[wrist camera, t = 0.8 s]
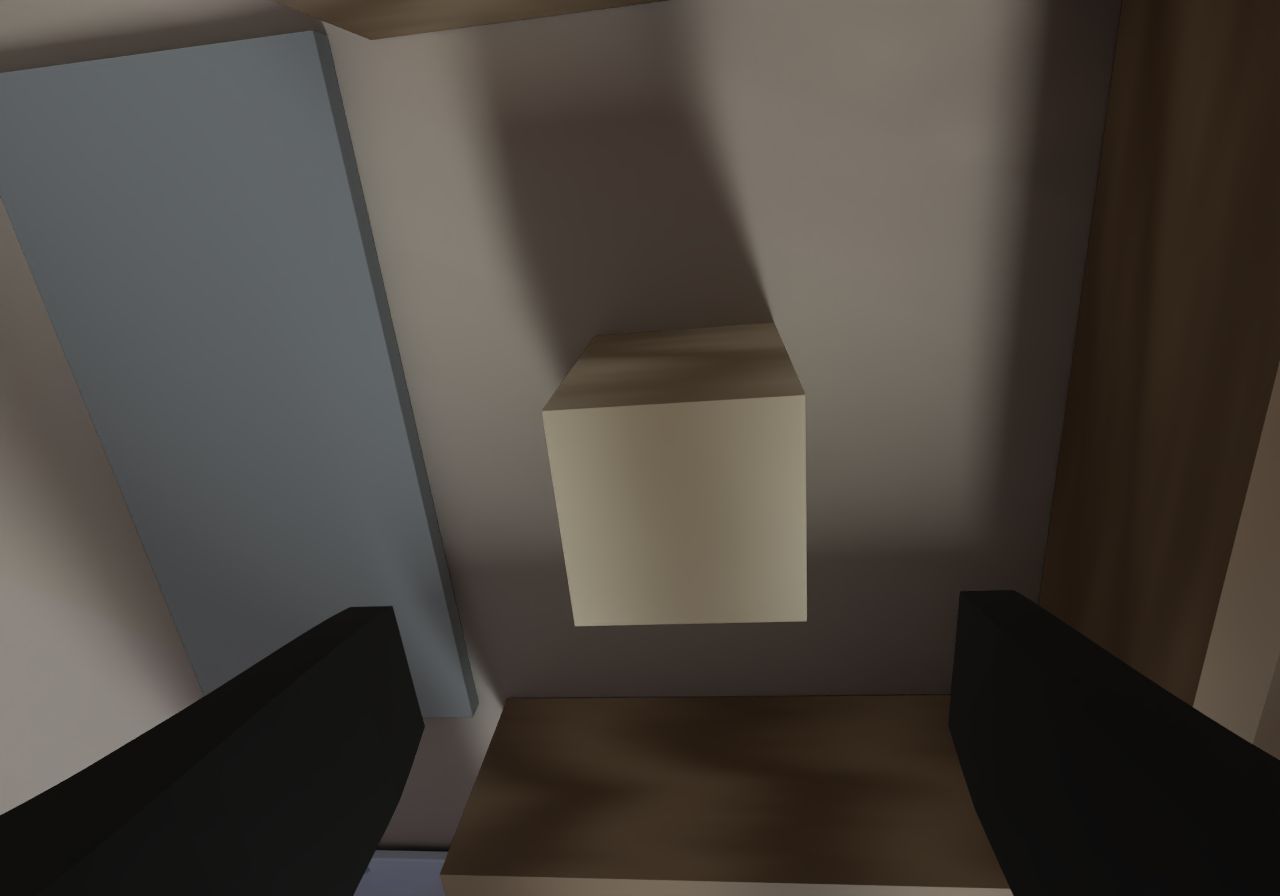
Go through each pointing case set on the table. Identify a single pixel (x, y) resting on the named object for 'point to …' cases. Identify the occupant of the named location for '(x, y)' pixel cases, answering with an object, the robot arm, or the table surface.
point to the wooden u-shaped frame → (1076, 549)
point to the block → (682, 478)
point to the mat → (234, 344)
